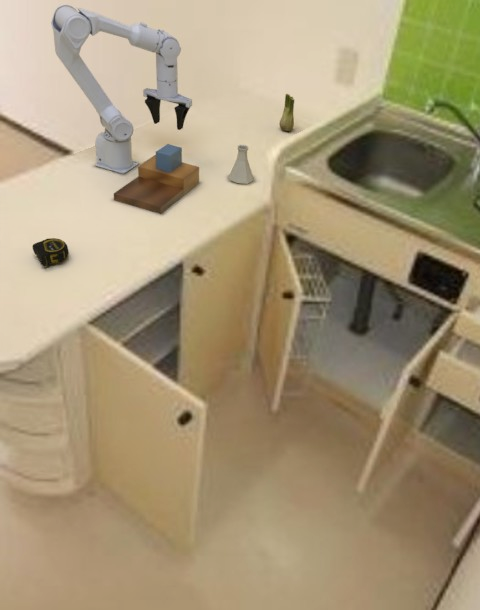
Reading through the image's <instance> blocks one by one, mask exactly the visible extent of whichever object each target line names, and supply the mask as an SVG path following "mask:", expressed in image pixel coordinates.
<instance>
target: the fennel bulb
mask: <svg viewBox="0 0 480 610" xmlns="http://www.w3.org/2000/svg"><path fill="white" fill-rule="evenodd" d="M294 107H295V99H294V97H293V96H291V94H289V93H285V96H284V107H283V111H282V115H281V118H280V120H279V127H280V129H281V130H283V131H285V132H290V131H291V130H293V129H294V125H295V117H294V110H295V109H294Z"/></svg>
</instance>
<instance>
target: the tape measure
mask: <svg viewBox="0 0 480 610" xmlns="http://www.w3.org/2000/svg"><path fill="white" fill-rule="evenodd" d="M32 251H33V253H34V254H35V255H36V257H37V258H38V260H39V262H40V265H42V266H43V267H48V266H50V265H56V264H59V263H62V262H64V261H65V260H67V259H68V256H69V254H70V253H69V247H68V244H67V243H66V242H65V241H64V240H63V239H60V238H55V237H51V238H50V237H49V238H46V239H43V240H41V241H38V242H34V243H33V244H32Z"/></svg>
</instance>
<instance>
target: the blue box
mask: <svg viewBox="0 0 480 610" xmlns="http://www.w3.org/2000/svg"><path fill="white" fill-rule="evenodd" d="M182 148H183V147H182V146H177V145H173V144H170V143H167V144H165V145H164V146H162V147H161V148H159V149H158V150H156V151H155V155H156V169H159V170H162V171H166V172H170V173H171V172H172V171H173V170H175V169H176V168H177V167H179V166H180V165H182V162H183V149H182Z"/></svg>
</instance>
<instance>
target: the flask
mask: <svg viewBox="0 0 480 610" xmlns="http://www.w3.org/2000/svg"><path fill="white" fill-rule="evenodd" d="M248 150H249V146H248V145H247V144H238V145H237V157H236V160H235V161H234V164H233V166H232V169H231V170H230V173H229V175H228V178H229V181H230V182H233V183H236V184H243V185H244V184H246V185H248V184H249V183H252V182H253V181H254V176H253V172H252V170H251V166H250V163H249V159H248Z"/></svg>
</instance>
